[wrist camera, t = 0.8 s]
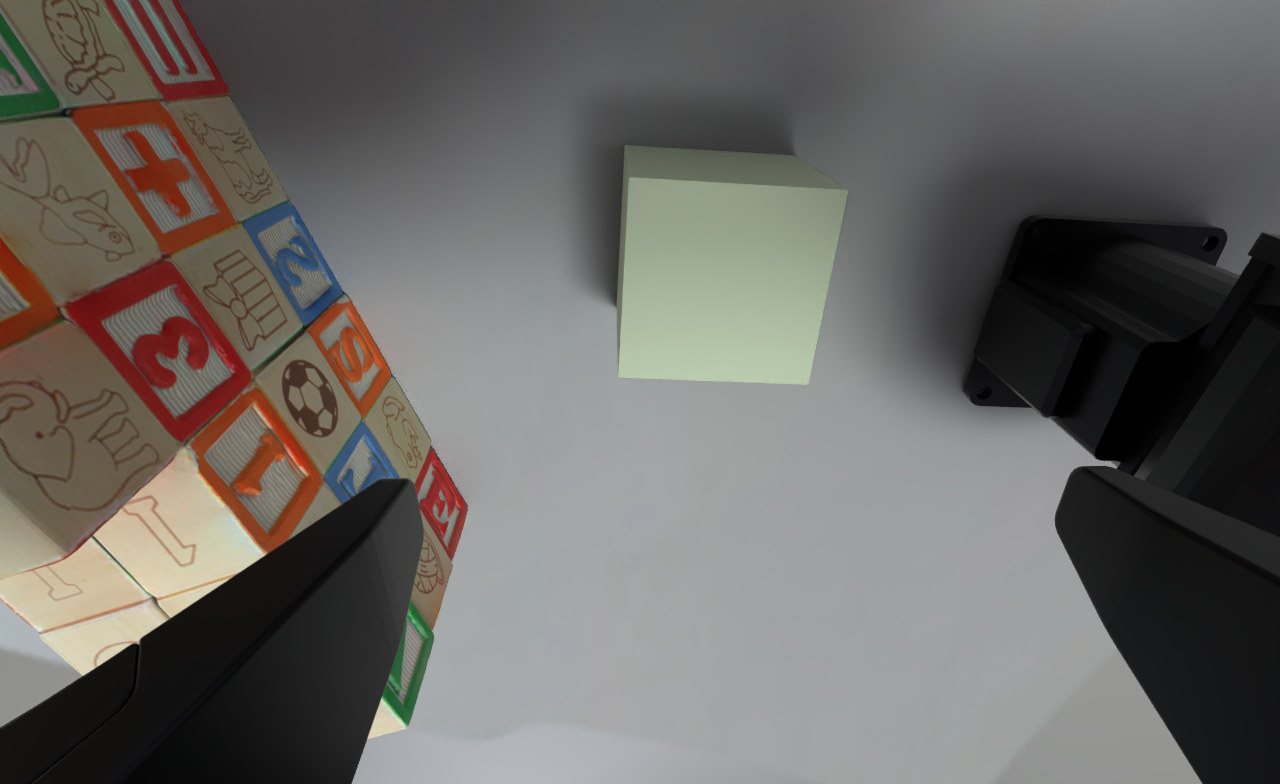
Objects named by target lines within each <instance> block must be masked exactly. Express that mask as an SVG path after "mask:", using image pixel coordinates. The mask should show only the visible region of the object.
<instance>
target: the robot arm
mask: <svg viewBox="0 0 1280 784" xmlns="http://www.w3.org/2000/svg"><path fill="white" fill-rule="evenodd" d="M1038 227H1041V232H1040V234H1039V236H1037V237H1036V238H1034V239H1032V234H1033V232H1034V230H1035V229H1037V228H1038ZM1208 237H1209V238H1208ZM1207 238H1208V241H1207V243H1206V244H1205V245H1204V246H1202V243H1203V242H1204V240H1205V239H1207ZM1226 241H1227V234H1226V232H1225V231H1224V230H1223V229H1221V228H1217V227H1214V226H1211V225H1208V224H1191V223H1173V222H1155V221H1138V220H1120V219H1103V218H1085V217H1068V216H1050V215H1034V216H1031V217H1029V218H1027V219H1025V220H1024V221H1023V222H1022V223H1021V225H1020V226H1019V228H1018V230H1017V233H1016V236H1015V239H1014V242H1013V245H1012V248H1011V251H1010V254H1009V257H1008V260H1007V263H1006V266H1005V269H1004V272H1003V275H1002V278H1001V281H1000V282H999V283H998V284H997V286H996V288H995V291H994V294H993V297H992V300H991V303H990V306H989V309H988V312H987V315H986V318H985V321H984V324H983V327H982V330H981V333H980V336H979V339H978V342H977V345H976V348H975V351H974V354H975V358H974V361H973V364H972V367H971V370H970V373H969V376H968V379H967V382H966V385H965V389H964V393H965V396H966V397H967V398H968V399H969V400H970V401H971V402H972V403H973V404H975V405H979V406H999V407H1026V408H1033V409H1034V410H1035V411H1037V412H1038V413H1039V414H1040V415H1041V416H1042V417H1045V418H1050V419H1051V420H1052V421H1054V422H1055V423H1056V424H1057V425H1058V426H1059V427H1060V428H1062V429H1063V430H1064V431H1065V432H1066V433H1067V434H1068V435H1070V436H1071V437H1072V438H1073V439H1074V440H1075V441H1076V442H1078V443H1079V444H1080V445H1081V446H1082V447H1083V448H1084V449H1086V450H1087V451H1088V452H1089V453H1090V454H1091V455H1093V456H1094V457H1095V458H1096V459H1098V460H1101V461H1111V462H1112V463H1113V464H1115V465H1116V466H1117V469H1115V468H1112V467H1108V466H1082V467H1078V468H1076V469H1074V470H1073V471H1072V472H1071V473H1070V476H1069V478H1068V481H1067V483H1066V486H1065V489H1064V492H1063V494H1062V497H1061V500H1060V503H1059V505H1058V508H1057V511H1056V514H1055V526H1056V530H1057V533H1058V535H1059V537H1060V539H1061V541H1062V543H1063V545H1064V547H1065V549H1066V551H1067V553H1068V555H1069V557H1070V559H1071V561H1072V563H1073V565H1074V567H1075V569H1076V571H1077V573H1078V575H1079V577H1080V579H1081V581H1082V583H1083V585H1084V587H1085V589H1086V591H1087V593H1088V595H1089V597H1090V599H1091V601H1092V603H1093V605H1094V607H1095V609H1096V611H1097V613H1098V615H1099V617H1100V619H1101V621H1102V623H1103V625H1104V627H1105V628H1106V630H1107V632H1108V634H1109V635H1110V637H1111V639H1112V640H1113V642H1114V644H1115V645H1116V647H1117V649H1118V650H1119V652H1120V653H1121V655H1122V657H1123V658H1124V660H1125V661H1126V663H1127V665H1128V666H1129V668H1130V669H1131V671H1132V673H1133V674H1134V676H1135V677H1136V679H1137V680H1138V682H1139V684H1140V685H1141V687H1142V688H1143V690H1144V692H1145V693H1146V695H1147V696H1148V698H1149V700H1150V701H1151V703H1152V704H1153V706H1154V708H1155V709H1156V711H1157V712H1158V714H1159V715H1160V717H1161V719H1162V720H1163V722H1164V723H1165V725H1166V726H1167V728H1168V730H1169V731H1170V733H1171V734H1172V736H1173V738H1174V739H1175V741H1176V742H1177V744H1178V745H1179V747H1180V749H1181V750H1182V752H1183V754H1184V755H1185V757H1186V758H1187V760H1188V762H1189V763H1190V765H1191V766H1192V768H1193V770H1194V771H1195V773H1196V774H1197V776H1198V777H1199V779H1200V781H1201V782H1202V784H1280V236H1279V235H1275V234H1270V233H1265V232H1262V233H1261V234H1260V236H1259V238H1258V239H1257V241H1256V242H1255V244H1254V245H1253V247H1252V249H1251V250H1250V252H1249V253H1248V255H1250V256H1252V258H1251V260H1250V261H1249V263H1248V264H1247V266H1246V268H1245V269H1244V271H1243V272H1242V274H1241V275H1237V274H1234V273H1232V272H1229V271H1227V270H1224V269H1221V268H1219V267H1216V266H1215V265H1216V263H1217V261H1218V259H1219V257H1220V255H1221V253H1222V251H1223V248H1224V246H1225V244H1226ZM982 387H986V388H985V390H984V391H983V392H982V393H980V394H977V392H978V391H979V389H981V388H982ZM423 540H424V527H423V521H422V516H421V512H420V507H419V502H418V497H417V492H416V488H415V485H414V483H413V481H412V480H410V479H409V478H383V479H379V480H378V481H376V482H374V483H373V484H371V485H370V486H368V487H367V488H365V489H364V490H362V491H361V492H359V493H358V494H356V495H355V496H353V497H352V498H350V499H349V500H347V501H346V502H344V503H343V504H341V505H340V506H338V507H337V508H335V509H334V510H332V511H331V512H329V513H328V514H326V515H325V516H323V517H322V518H320V519H319V520H317V521H316V522H314V523H313V524H311V525H310V526H308V527H307V528H305V529H304V530H302V531H301V532H299V533H298V534H296V535H295V536H293V537H292V538H290V539H289V540H287V541H286V542H284V543H283V544H281V545H280V546H278V547H277V548H275V549H274V550H272V551H271V552H269V553H268V554H266V555H265V556H263V557H262V558H260V559H259V560H257V561H256V562H254V563H253V564H251V565H250V566H248V567H247V568H245V569H244V570H242V571H241V572H239V573H238V574H236V575H235V576H233V577H232V578H230V579H229V580H227V581H226V582H224V583H223V584H221V585H220V586H218V587H217V588H215V589H214V590H212V591H211V592H209V593H208V594H206V595H205V596H203V597H202V598H200V599H199V600H197V601H196V602H194V603H193V604H191V605H190V606H188V607H187V608H185V609H184V610H182V611H181V612H179V613H178V614H176V615H175V616H173V617H172V618H170V619H168V620H167V621H165V622H164V623H162V624H161V625H159V626H158V627H156V628H155V629H153V630H152V631H150V632H149V633H147V634H146V635H144V636H143V637H142V638H141V639H140V640H139V644H137V643H133V644H131V645H129V646H128V647H126V648H125V649H123V650H122V651H120V652H119V653H117V654H116V655H114V656H113V657H111V658H110V659H108V660H107V661H105V662H104V663H102V664H101V665H99V666H98V667H96V668H95V669H93V670H91V671H90V672H88V673H87V674H85V675H84V676H82V677H81V678H79V679H77V680H76V681H74V682H73V683H72V684H70V685H68V686H67V687H65V688H64V689H62V690H60V691H59V692H58V693H56V694H54V695H53V696H51V697H50V698H48V699H47V700H45V701H43V702H42V703H40V704H38V705H37V706H35V707H33V708H32V709H30V710H29V711H27V712H25V713H24V714H22V715H20V716H19V717H17V718H15V719H14V720H12V721H10V722H9V723H7V724H6V725H4V726H2V727H0V784H352V781H353V778H354V775H355V772H356V769H357V767H358V764H359V761H360V758H361V755H362V753H363V749H364V747H365V744H366V741H367V738H368V735H369V733H370V730H371V727H372V724H373V721H374V718H375V716H376V713H377V710H378V707H379V704H380V701H381V698H382V696H383V693H384V690H385V687H386V684H387V681H388V678H389V676H390V673H391V670H392V667H393V664H394V661H395V658H396V655H397V652H398V649H399V646H400V642H401V638H402V634H403V630H404V626H405V622H406V617H407V613H408V608H409V604H410V599H411V595H412V591H413V586H414V582H415V577H416V573H417V568H418V564H419V559H420V555H421V550H422V546H423Z"/></svg>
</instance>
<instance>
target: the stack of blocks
mask: <svg viewBox="0 0 1280 784" xmlns="http://www.w3.org/2000/svg"><path fill="white" fill-rule="evenodd" d="M430 446H431V441H430V438H429V437H428V435H427V433H426V432H425V430H424V428H423V426H422V425H421V423H420V421H419V419H418V417H417V416H416V414H415V412H414V411H413V409H412V407H411V406H410V404H409V402H408V400H407V399H406V397H405V395H404V393H403V392H402V390H401V388H400V387H399V385H398V383H397V382H396V380H395V379H394V378H393V377H392V376H391V373H390V369H389V368H388V366H387V364H386V362H385V360H384V358H383V356H382V355H381V353H380V351H379V349H378V348H377V346H376V344H375V342H374V341H373V339H372V337H371V335H370V333H369V332H368V330H367V328H366V326H365V324H364V323H363V321H362V319H361V317H360V316H359V314H358V312H357V311H356V309H355V307H354V305H353V303H352V301H351V300H350V298H349V297H348V296H346V295H345V294H343V293H342V290H341V287H340V285H339V284H338V282H337V280H336V278H335V276H334V275H333V273H332V271H331V270H330V268H329V266H328V265H327V263H326V261H325V260H324V258H323V256H322V254H321V252H320V251H319V249H318V247H317V245H316V244H315V242H314V240H313V239H312V237H311V235H310V233H309V232H308V230H307V228H306V226H305V225H304V223H303V221H302V220H301V218H300V216H299V214H298V212H297V210H296V209H295V207H294V206H293V205H292V204H291V203H290V202H289V201H288V198H287V196H286V193H285V191H284V190H283V188H282V186H281V184H280V182H279V181H278V179H277V177H276V176H275V174H274V172H273V170H272V169H271V167H270V165H269V164H268V162H267V160H266V158H265V157H264V155H263V153H262V151H261V150H260V148H259V146H258V145H257V143H256V141H255V140H254V138H253V136H252V134H251V133H250V131H249V129H248V127H247V125H246V124H245V122H244V120H243V119H242V117H241V115H240V113H239V112H238V110H237V108H236V107H235V105H234V103H233V102H232V100H231V99H230V97H229V91H228V88H227V86H226V84H225V83H224V81H223V79H222V77H221V76H220V74H219V72H218V70H217V68H216V66H215V65H214V63H213V61H212V59H211V58H210V56H209V54H208V52H207V51H206V49H205V47H204V46H203V44H202V42H201V40H200V39H199V37H198V35H197V34H196V32H195V30H194V28H193V26H192V25H191V23H190V21H189V19H188V18H187V16H186V14H185V12H184V11H183V9H182V7H181V5H180V4H179V2H178V0H0V600H2V601H3V602H4V603H5V604H6V605H7V606H8V607H9V608H11V609H12V610H13V611H14V612H15V613H16V614H17V615H19V616H20V617H21V618H22V619H23V620H25V621H26V622H27V623H28V624H29V625H30V626H32V627H33V628H35V629H36V630H37V631H39V636H40V638H41V639H42V640H43V641H44V642H45V643H46V644H47V645H49V646H50V647H51V648H52V649H53V650H54V651H55V652H57V653H58V654H59V655H60V656H61V657H62V658H63V659H65V660H66V661H67V662H68V663H69V664H70V665H71V666H73V667H74V668H75V669H76V670H77V671H78V672H79V673H80V674H81V675H83V676H84V675H85V674H87V673H88V672H90V671H91V670H93V669H95V668H96V667H98V666H99V665H101V664H102V663H104V662H105V661H107V660H108V659H110V658H111V657H113V656H114V655H116V654H117V653H119V652H120V651H122V650H123V649H125V648H126V647H128V646H129V645H131V644H133V643H137V644H139V640H140V639H141V638H142V637H143V636H144V635H146V634H147V633H149V632H150V631H152V630H153V629H155V628H156V627H158V626H159V625H161V624H162V623H164V622H165V621H167V620H168V619H170V618H172V617H173V616H175V615H176V614H178V613H179V612H181V611H182V610H184V609H185V608H187V607H188V606H190V605H191V604H193V603H194V602H196V601H197V600H199V599H200V598H202V597H203V596H205V595H206V594H208V593H209V592H211V591H212V590H214V589H215V588H217V587H218V586H220V585H221V584H223V583H224V582H226V581H227V580H229V579H230V578H232V577H233V576H235V575H236V574H238V573H239V572H241V571H242V570H244V569H245V568H247V567H248V566H250V565H251V564H253V563H254V562H256V561H257V560H259V559H260V558H262V557H263V556H265V555H266V554H268V553H269V552H271V551H272V550H274V549H275V548H277V547H278V546H280V545H281V544H283V543H284V542H286V541H287V540H289V539H290V538H292V537H293V536H295V535H296V534H298V533H299V532H301V531H302V530H304V529H305V528H307V527H308V526H310V525H311V524H313V523H314V522H316V521H317V520H319V519H320V518H322V517H323V516H325V515H326V514H328V513H329V512H331V511H332V510H334V509H335V508H337V507H338V506H340V505H341V504H343V503H344V502H346V501H347V500H349V499H350V498H352V497H353V496H355V495H356V494H358V493H359V492H361V491H362V490H364V489H365V488H367V487H368V486H370V485H371V484H373V483H374V482H376V481H378V480H379V479H383V478H409V479H410V480H412V481H413V483H414V485H415V488H416V492H417V497H418V502H419V507H420V512H421V516H422V521H423V527H424V540H423V546H422V550H421V555H420V559H419V564H418V568H417V573H416V577H415V582H414V586H413V591H412V595H411V599H410V604H409V608H408V613H407V617H406V622H405V626H404V630H403V634H402V638H401V642H400V646H399V649H398V652H397V655H396V658H395V661H394V664H393V667H392V670H391V673H390V676H389V678H388V681H387V684H386V687H385V690H384V693H383V696H382V698H381V701H380V704H379V707H378V710H377V713H376V716H375V718H374V721H373V724H372V727H371V730H370V733H369V735H368V738H373V737H377V736H380V735H383V734H387V733H391V732H395V731H399V730H402V729H406V728H407V727H408V725H409V723H410V720H411V718H412V714H413V710H414V707H415V704H416V700H417V697H418V693H419V690H420V687H421V683H422V680H423V677H424V673H425V670H426V666H427V662H428V659H429V656H430V653H431V649H432V645H433V641H434V634H433V632H432V630H433V628H434V625H435V622H436V619H437V616H438V613H439V611H440V607H441V603H442V599H443V596H444V593H445V590H446V587H447V583H448V579H449V576H450V574H451V571H452V567H453V565H452V562H451V561H452V560H453V557H454V554H455V552H456V548H457V545H458V542H459V539H460V537H461V533H462V530H463V526H464V522H465V519H466V515H467V511H468V508H467V506H466V504H465V502H464V500H463V499H462V497H461V496H460V494H459V492H458V491H457V489H456V487H455V486H454V484H453V482H452V481H451V479H450V477H449V476H448V474H447V472H446V471H445V469H444V467H443V466H442V464H441V462H440V461H439V459H438V458H437V456H436V454H435V452H434V450H433V449H431V448H430ZM368 738H367V739H368Z"/></svg>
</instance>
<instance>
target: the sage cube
mask: <svg viewBox="0 0 1280 784" xmlns="http://www.w3.org/2000/svg"><path fill="white" fill-rule="evenodd" d="M848 191H849V190H848V189H846V188H845V187H843V186H842V185H840V184H838V183H837V182H835V181H834V180H832V179H831V178H829V177H828V176H826V175H825V174H823V173H822V172H820V171H818V170H817V169H815V168H814V167H812V166H811V165H809V164H808V163H806V162H805V161H803V160H801V159H800V158H798V157H797V156H795V155H780V154H764V153H748V152H732V151H715V150H699V149H683V148H667V147H651V146H634V145H625V148H624V168H623V188H622V208H621V228H620V248H619V268H618V288H617V308H616V309H617V350H618V377H621V378H647V379H673V380H699V381H725V382H751V383H777V384H803V385H808V383H809V378H810V373H811V369H812V364H813V359H814V354H815V349H816V345H817V340H818V335H819V330H820V325H821V321H822V316H823V311H824V306H825V301H826V297H827V292H828V287H829V282H830V277H831V273H832V268H833V263H834V258H835V253H836V249H837V244H838V239H839V234H840V229H841V225H842V220H843V215H844V210H845V205H846V201H847V196H848Z"/></svg>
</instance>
